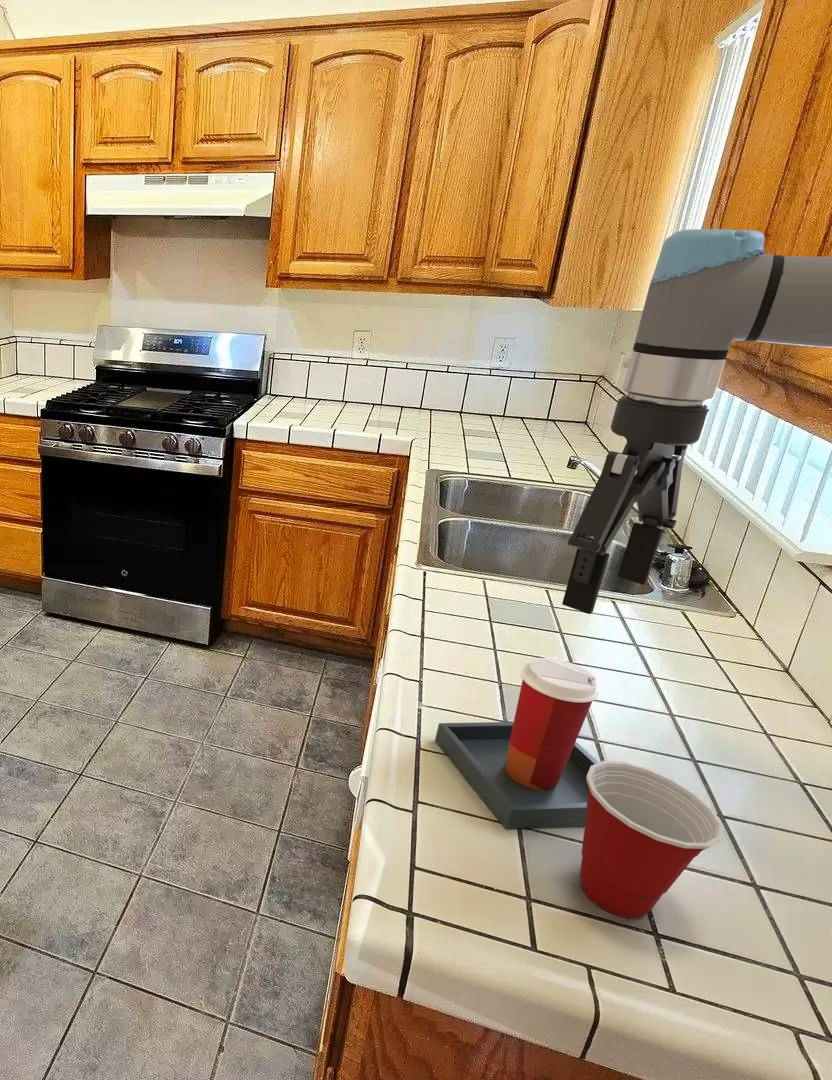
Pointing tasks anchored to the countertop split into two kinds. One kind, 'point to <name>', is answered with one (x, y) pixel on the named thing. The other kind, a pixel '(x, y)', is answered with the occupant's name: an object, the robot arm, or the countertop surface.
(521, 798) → the tray
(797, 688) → the countertop surface
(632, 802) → the plastic cup
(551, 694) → the paper cup
